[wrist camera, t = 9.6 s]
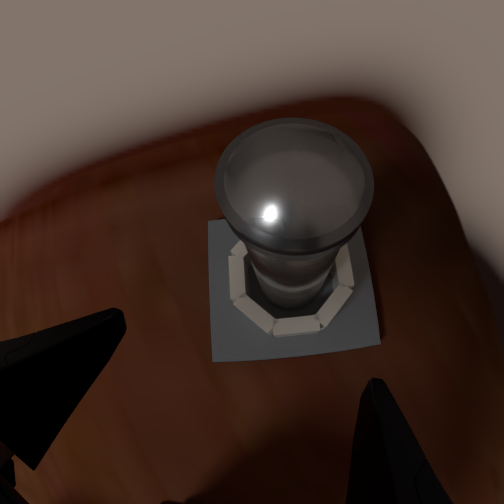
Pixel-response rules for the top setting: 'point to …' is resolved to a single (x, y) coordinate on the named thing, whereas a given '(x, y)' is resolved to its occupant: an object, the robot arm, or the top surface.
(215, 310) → the dock
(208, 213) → the top surface
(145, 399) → the top surface
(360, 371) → the top surface
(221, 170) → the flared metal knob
